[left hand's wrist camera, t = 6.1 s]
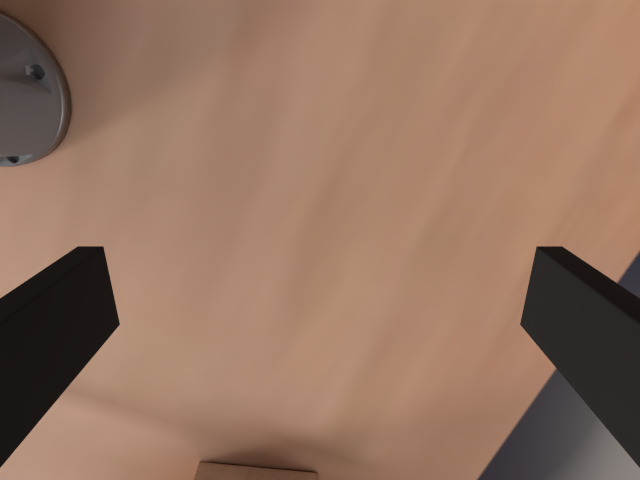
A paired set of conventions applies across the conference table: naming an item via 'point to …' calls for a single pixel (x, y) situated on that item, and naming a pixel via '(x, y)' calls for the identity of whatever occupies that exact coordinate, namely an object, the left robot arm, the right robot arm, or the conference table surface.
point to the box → (248, 473)
